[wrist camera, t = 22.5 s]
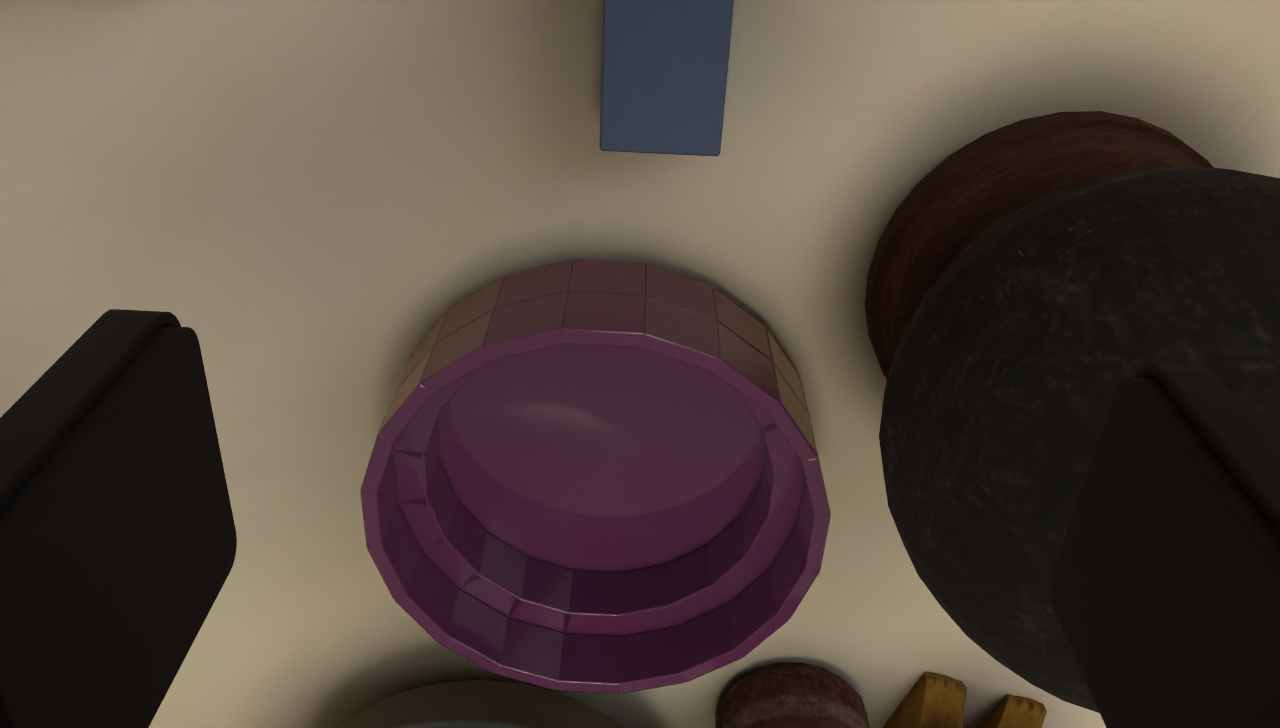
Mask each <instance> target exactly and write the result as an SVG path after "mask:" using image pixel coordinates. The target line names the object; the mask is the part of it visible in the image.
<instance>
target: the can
mask: <svg viewBox="0 0 1280 728" xmlns="http://www.w3.org/2000/svg"><path fill="white" fill-rule="evenodd" d="M716 728H870V726H869V722H868V717H867V712H866V710H865V707H864V704H863V702H862V699H861V696H860V695H859V694H858V693H857V692H856V691H855V690H854V689H853V688H852V687H851V686H850V685H849V684H848V683H847V682H846V681H845V680H843V679H842V678H841V677H840V676H838V675H836V674H834V673H832V672H830V671H828V670H826V669H824V668H822V667H818V666H814V665H809V664H804V663H780V664H776V665H772V666H767V667H763V668H760V669H758V670H756V671H754V672H752V673H750V674H748V675H746V676H744V677H742V678H741V679H740V680H739V681H738V682H737V683H736V684H735V685H734V686H733V687H732V688H731V689H730V690H729V691H728V693H727V694H726V695H725V697H724V698H723V700H722V702H721V704H720V706H719V708H718V710H717V712H716Z"/></svg>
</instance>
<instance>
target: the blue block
mask: <svg viewBox="0 0 1280 728" xmlns="http://www.w3.org/2000/svg"><path fill="white" fill-rule="evenodd" d="M733 2H734V0H603V37H602V77H601V116H600V149H601V150H603V151H618V152H639V153H659V154H680V155H701V156H719V154H720V150H721V138H722V127H723V116H724V104H725V93H726V82H727V70H728V59H729V48H730V36H731V25H732V13H733Z"/></svg>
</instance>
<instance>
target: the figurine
mask: <svg viewBox="0 0 1280 728" xmlns="http://www.w3.org/2000/svg"><path fill="white" fill-rule="evenodd" d="M965 696H966V687H965V685H964V684H963V683H962V682H961V681H957V680H954V679H952V678H949V677H947V676H944V675H940V674H935V673H928V672H925V674H924V675H923V676H922V678H921V679H920V681H919V682H918V684H917V685H916V686H915V687H914V688H913V689H912V691H911V692H910V693H909V694H908V695H907V697H906V698H905V699H904V701H903V702H902V703H901V705H900V706H899V707H898V709H897V710H896V711H895V713H894V714H893V715H892V717H891V718H890V719H889V721H888V722H887V723H886V725H885V726H884V728H962V721H963V710H964V703H965ZM1046 712H1047V711H1046V709H1045V707H1044V705H1043V704H1040V703H1038V702H1036V701H1033V700H1031V699H1026V698H1022V697H1015V696H1012V695H1008V696H1007V697H1006V698H1005V699H1004V700H1003V701H1002V702H1001V703H1000V705H999V706H998V707H997V708H996V710H995V711H994V712H993V714H992V715H991V716H990V717H989V719H988V720H987V721H986V722H985V724H984V725H983V726H982V728H1041V727H1042V725H1043V722H1044V719H1045V715H1046Z"/></svg>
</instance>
